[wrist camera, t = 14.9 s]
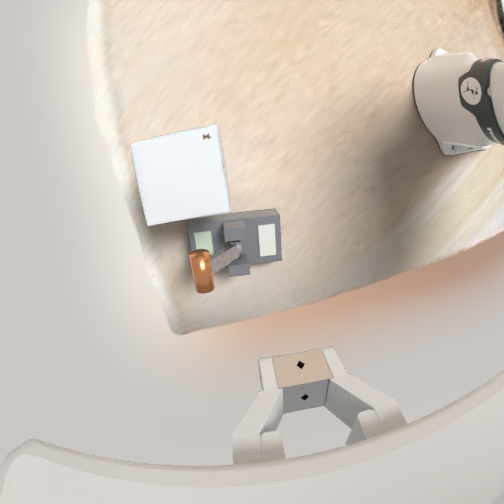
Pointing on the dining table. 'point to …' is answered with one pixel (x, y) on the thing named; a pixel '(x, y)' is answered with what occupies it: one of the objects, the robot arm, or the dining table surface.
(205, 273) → the breaker lever
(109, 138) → the dining table surface
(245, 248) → the breaker housing
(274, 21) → the dining table surface
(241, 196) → the dining table surface
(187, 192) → the supplement box
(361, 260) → the dining table surface
